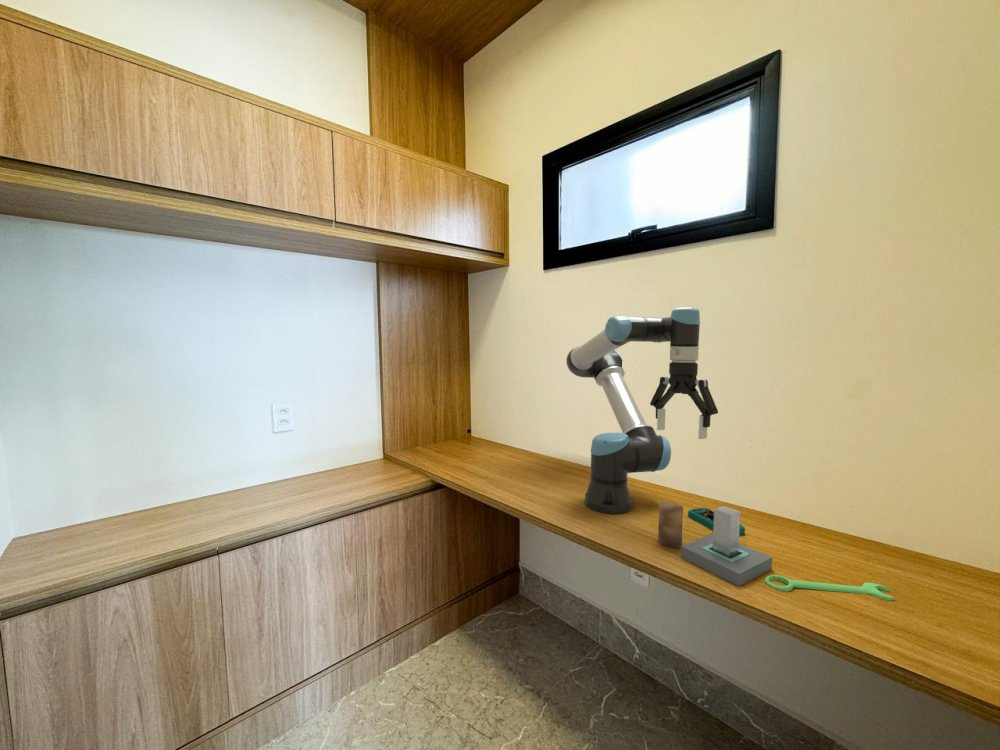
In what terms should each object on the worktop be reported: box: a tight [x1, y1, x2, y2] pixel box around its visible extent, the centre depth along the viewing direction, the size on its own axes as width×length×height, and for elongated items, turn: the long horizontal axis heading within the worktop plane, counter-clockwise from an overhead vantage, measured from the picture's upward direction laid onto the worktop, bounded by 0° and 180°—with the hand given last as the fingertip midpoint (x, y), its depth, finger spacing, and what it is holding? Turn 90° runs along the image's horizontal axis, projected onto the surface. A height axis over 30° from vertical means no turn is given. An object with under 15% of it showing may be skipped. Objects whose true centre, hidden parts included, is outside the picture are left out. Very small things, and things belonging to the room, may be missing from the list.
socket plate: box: [680, 533, 773, 587], centre depth 95 cm, size 14×14×3 cm
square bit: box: [712, 505, 741, 559], centre depth 95 cm, size 4×4×13 cm
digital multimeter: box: [687, 507, 746, 536], centre depth 116 cm, size 7×15×3 cm, turn 16°
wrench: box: [764, 574, 895, 601], centre depth 85 cm, size 25×2×5 cm
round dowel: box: [657, 501, 684, 549], centre depth 105 cm, size 6×6×10 cm
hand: (680, 434), depth 116 cm, fingers open, 13 cm apart
